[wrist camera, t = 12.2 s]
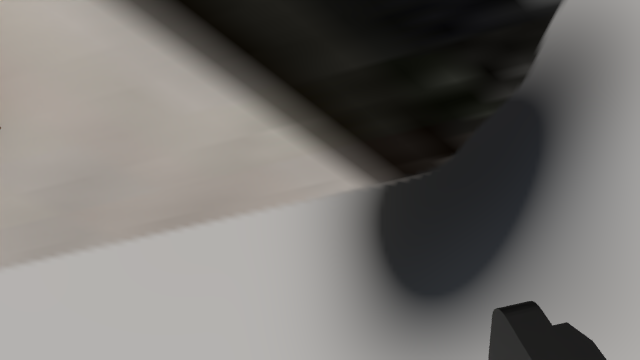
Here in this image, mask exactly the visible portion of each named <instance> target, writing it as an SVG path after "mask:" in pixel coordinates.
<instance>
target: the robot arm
mask: <svg viewBox="0 0 640 360" xmlns="http://www.w3.org/2000/svg"><path fill="white" fill-rule="evenodd" d="M489 360H606V358H605V357H604V356H603V354H602V353H601V352H600V350H599V349H598V347H597V346H596V345H595V343H594V342H593V341H592V340H590V339H589V338H588V337H586V336H585V335H584V334H582V333H581V332H580V331H578V330H577V329H575V328H574V327H573V326H571V325H570V324H569V323H562V324H558V325H553V326H552V324H551V323H550V321H549V320H548V318H547V317H546V316H545V314H544V313H543V311H542V310H541V309H540V307H539V306H538V305H537V304H536V303H535V302H533V301H528V302H524V303H519V304H515V305H510V306H506V307H501V308H497V309H495V310H494V311H493V315H492V325H491V336H490V346H489Z"/></svg>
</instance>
